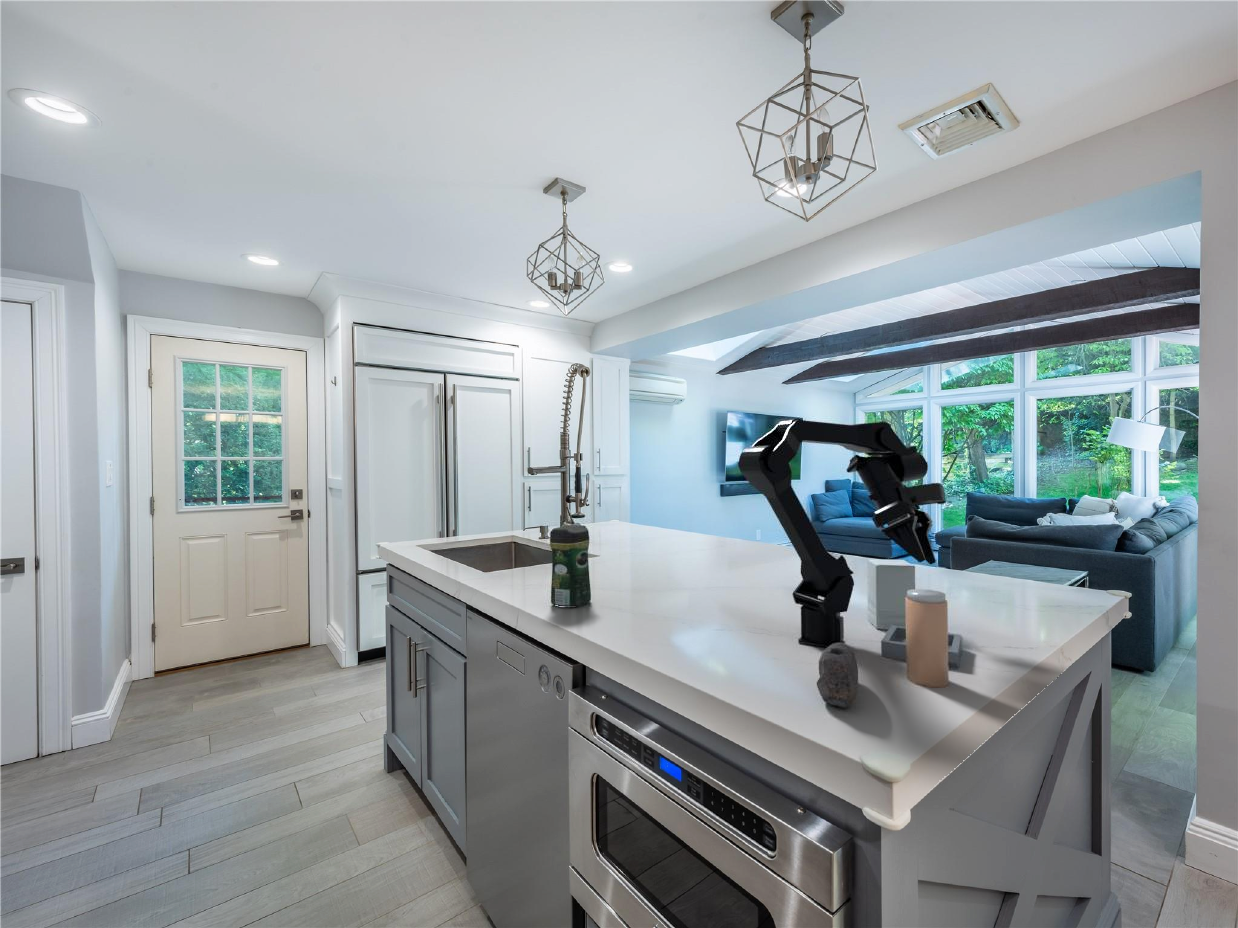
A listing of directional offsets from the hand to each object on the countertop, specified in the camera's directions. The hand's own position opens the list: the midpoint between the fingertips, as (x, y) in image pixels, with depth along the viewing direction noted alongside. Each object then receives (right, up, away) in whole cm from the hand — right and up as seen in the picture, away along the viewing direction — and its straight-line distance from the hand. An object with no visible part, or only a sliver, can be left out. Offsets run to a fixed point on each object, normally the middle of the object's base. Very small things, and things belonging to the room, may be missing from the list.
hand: (928, 562), depth 98 cm
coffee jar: (-66, -16, +34) cm, 76 cm away
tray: (-3, -15, -3) cm, 15 cm away
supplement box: (0, -15, +13) cm, 20 cm away
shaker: (-8, -15, -15) cm, 23 cm away
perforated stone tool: (-23, -15, -20) cm, 34 cm away
